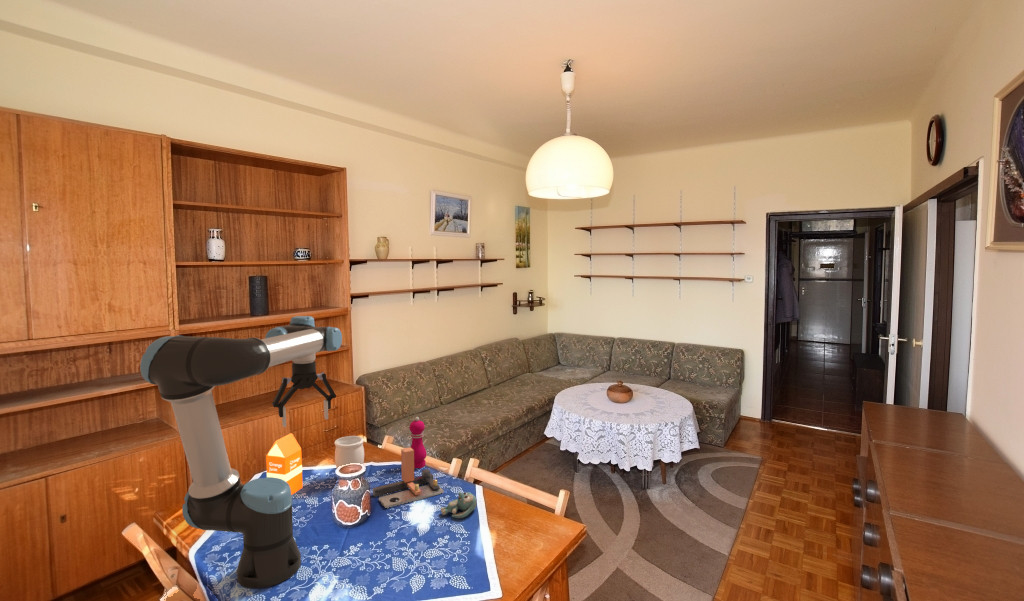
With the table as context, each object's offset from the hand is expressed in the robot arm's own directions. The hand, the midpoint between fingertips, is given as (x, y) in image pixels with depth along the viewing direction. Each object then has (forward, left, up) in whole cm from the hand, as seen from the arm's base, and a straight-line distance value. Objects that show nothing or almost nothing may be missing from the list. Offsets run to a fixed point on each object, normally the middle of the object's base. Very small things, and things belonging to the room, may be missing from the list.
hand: (305, 422), depth 167 cm
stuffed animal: (-38, -40, -27) cm, 61 cm away
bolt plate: (-20, -30, -26) cm, 45 cm away
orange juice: (+8, +6, -27) cm, 28 cm away
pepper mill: (+4, -42, -27) cm, 50 cm away
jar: (+6, -16, -27) cm, 31 cm away
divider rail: (-16, -30, -26) cm, 43 cm away
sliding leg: (-16, -32, -25) cm, 44 cm away
